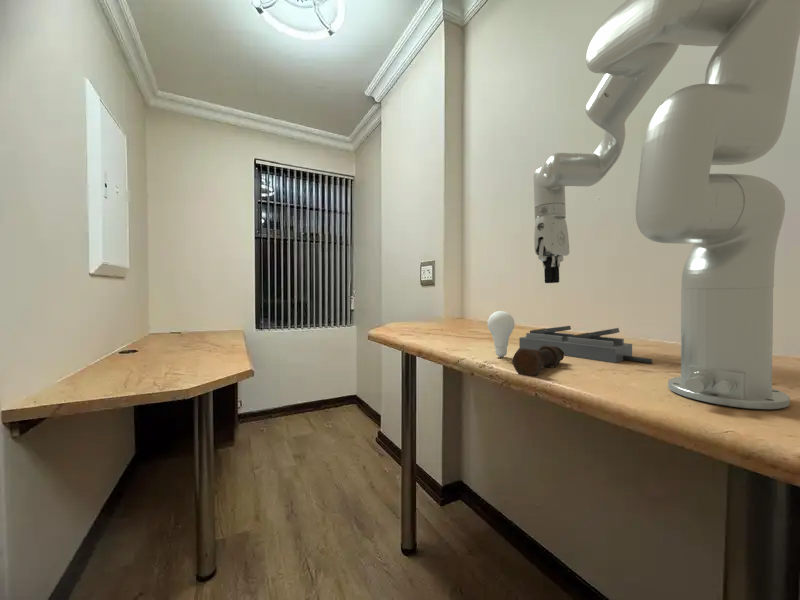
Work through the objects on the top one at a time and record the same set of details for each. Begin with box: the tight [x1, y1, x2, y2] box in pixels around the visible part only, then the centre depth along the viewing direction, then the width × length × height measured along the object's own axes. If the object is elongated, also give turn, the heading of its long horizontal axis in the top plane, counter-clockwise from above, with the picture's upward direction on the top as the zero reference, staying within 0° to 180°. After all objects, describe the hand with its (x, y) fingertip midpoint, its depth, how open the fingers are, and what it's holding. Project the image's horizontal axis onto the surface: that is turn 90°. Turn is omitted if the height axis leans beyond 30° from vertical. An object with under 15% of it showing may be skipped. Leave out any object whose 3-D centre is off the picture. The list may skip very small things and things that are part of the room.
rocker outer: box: [529, 325, 572, 334], centre depth 87 cm, size 4×9×1 cm, turn 36°
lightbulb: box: [487, 310, 516, 358], centre depth 79 cm, size 6×6×11 cm
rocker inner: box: [571, 327, 620, 338], centre depth 78 cm, size 4×9×1 cm, turn 36°
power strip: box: [518, 332, 653, 364], centre depth 80 cm, size 9×28×4 cm, turn 36°
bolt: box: [511, 345, 565, 377], centre depth 67 cm, size 6×5×15 cm
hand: (552, 282), depth 89 cm, fingers closed
